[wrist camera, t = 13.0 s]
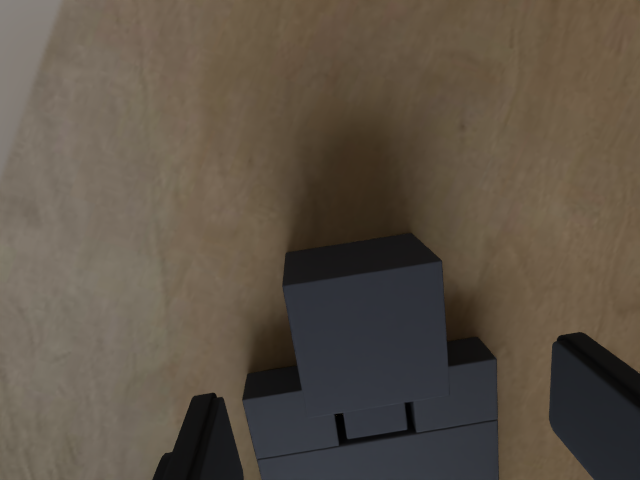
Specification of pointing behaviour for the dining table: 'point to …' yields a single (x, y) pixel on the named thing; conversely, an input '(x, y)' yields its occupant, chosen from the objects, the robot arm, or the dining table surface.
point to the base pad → (388, 448)
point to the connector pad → (367, 330)
